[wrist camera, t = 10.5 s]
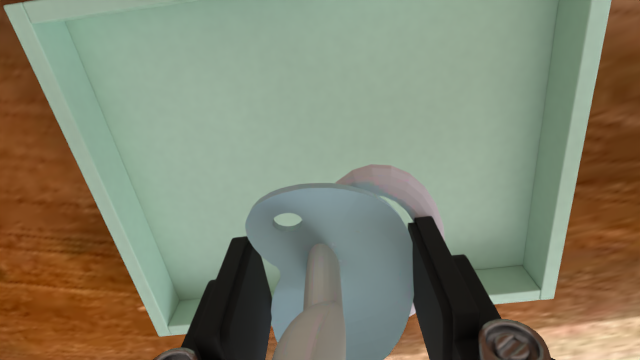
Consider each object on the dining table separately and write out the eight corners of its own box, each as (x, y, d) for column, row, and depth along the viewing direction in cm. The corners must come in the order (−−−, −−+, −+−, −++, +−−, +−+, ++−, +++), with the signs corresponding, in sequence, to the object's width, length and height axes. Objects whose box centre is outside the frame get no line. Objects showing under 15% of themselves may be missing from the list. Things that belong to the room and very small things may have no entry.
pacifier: (439, 133, 11) (241, 161, 11) (578, 278, 5) (167, 326, 5) (438, 313, 14) (284, 330, 14) (523, 522, 8) (267, 545, 9)
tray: (176, 301, 25) (158, 337, 22) (52, 4, 17) (1, 5, 14) (527, 265, 23) (554, 299, 21) (577, -80, 15) (631, -98, 13)
